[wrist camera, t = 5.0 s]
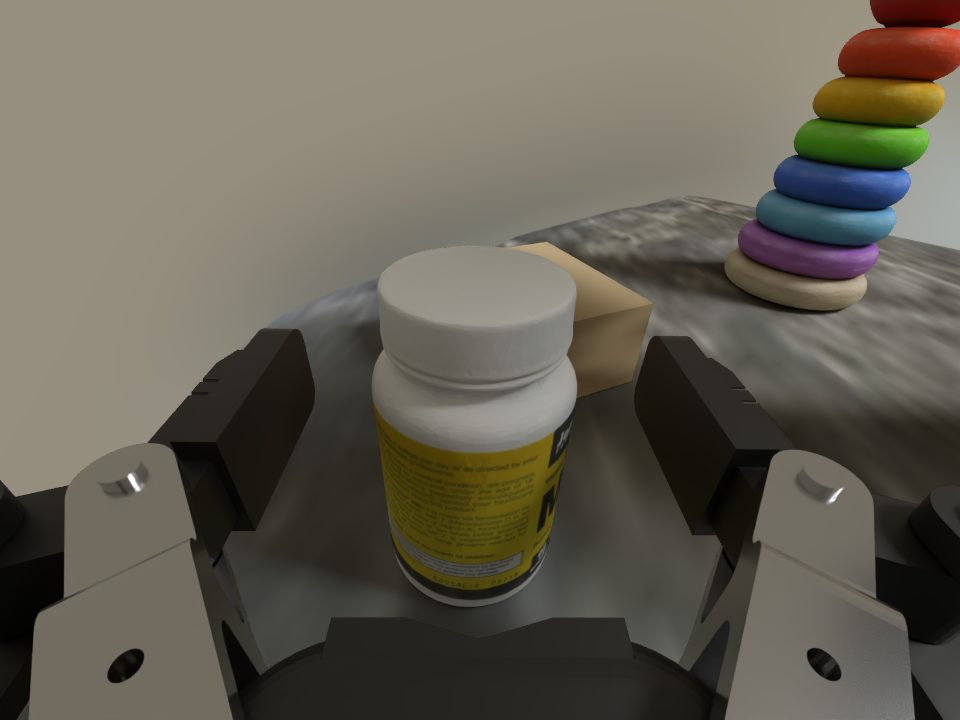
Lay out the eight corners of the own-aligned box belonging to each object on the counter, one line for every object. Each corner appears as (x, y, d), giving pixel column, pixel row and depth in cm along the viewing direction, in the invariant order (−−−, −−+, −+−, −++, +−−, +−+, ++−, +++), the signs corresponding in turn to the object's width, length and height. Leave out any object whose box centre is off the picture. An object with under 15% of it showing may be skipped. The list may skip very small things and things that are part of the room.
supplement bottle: (560, 612, 11) (632, 341, 7) (381, 614, 11) (323, 339, 7) (536, 471, 15) (570, 239, 11) (403, 471, 15) (377, 235, 10)
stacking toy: (811, 327, 25) (1072, -168, 14) (696, 276, 31) (820, -103, 20) (882, 301, 28) (1138, -120, 17) (765, 259, 34) (904, -76, 23)
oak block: (539, 307, 26) (547, 241, 24) (631, 381, 20) (653, 303, 18) (411, 334, 23) (406, 262, 21) (474, 430, 17) (477, 344, 15)
